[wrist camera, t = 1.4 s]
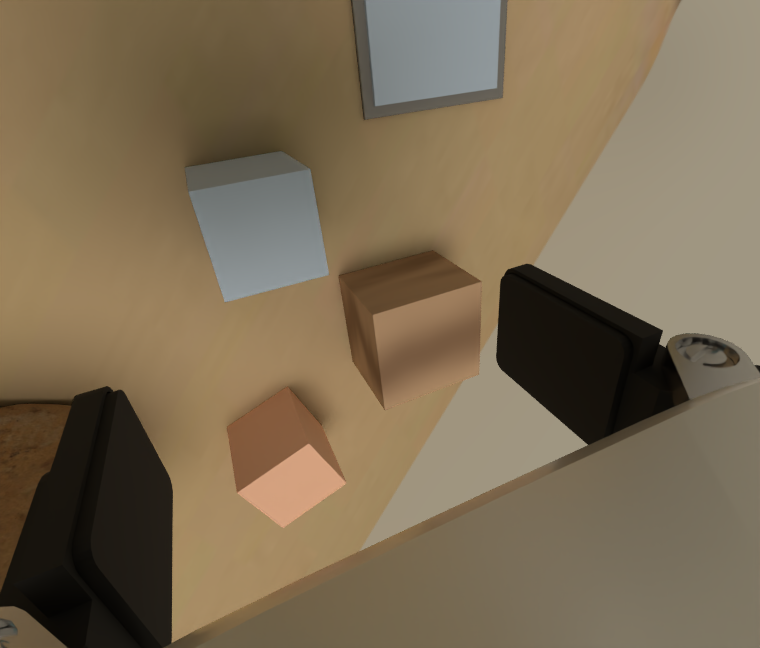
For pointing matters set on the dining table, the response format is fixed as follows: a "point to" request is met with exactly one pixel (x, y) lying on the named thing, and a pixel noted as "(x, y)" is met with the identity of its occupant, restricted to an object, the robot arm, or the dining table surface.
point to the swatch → (428, 53)
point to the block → (24, 465)
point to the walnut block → (413, 325)
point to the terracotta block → (283, 458)
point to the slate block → (258, 222)
